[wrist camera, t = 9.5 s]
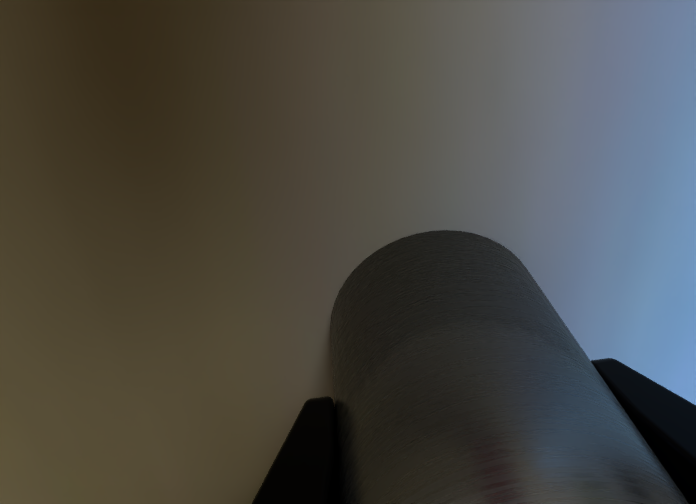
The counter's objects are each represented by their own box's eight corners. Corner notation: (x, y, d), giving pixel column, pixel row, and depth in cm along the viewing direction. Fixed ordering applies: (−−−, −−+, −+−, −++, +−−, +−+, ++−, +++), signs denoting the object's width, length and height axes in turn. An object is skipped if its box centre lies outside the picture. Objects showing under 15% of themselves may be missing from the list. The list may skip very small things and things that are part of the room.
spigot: (529, 206, 10) (1106, 866, 3) (545, 380, 12) (911, 1040, 5) (306, 259, 10) (293, 998, 3) (357, 421, 12) (423, 1112, 5)
